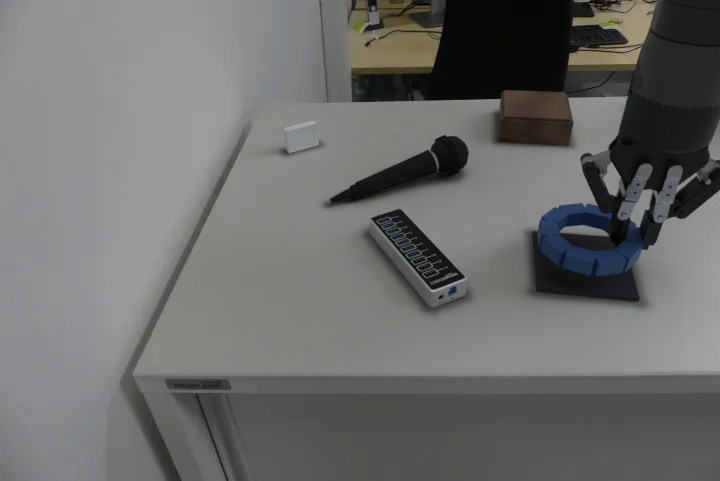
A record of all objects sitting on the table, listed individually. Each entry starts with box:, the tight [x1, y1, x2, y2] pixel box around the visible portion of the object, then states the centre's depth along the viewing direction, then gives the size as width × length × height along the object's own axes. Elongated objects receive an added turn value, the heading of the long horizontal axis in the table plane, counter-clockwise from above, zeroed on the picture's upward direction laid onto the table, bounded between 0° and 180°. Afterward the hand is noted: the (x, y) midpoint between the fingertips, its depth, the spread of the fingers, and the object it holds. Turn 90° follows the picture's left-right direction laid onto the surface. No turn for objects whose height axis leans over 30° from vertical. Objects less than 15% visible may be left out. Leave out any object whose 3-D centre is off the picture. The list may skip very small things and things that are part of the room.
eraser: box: [282, 120, 320, 154], centre depth 84 cm, size 1×5×4 cm, turn 117°
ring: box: [537, 202, 644, 276], centre depth 59 cm, size 10×10×2 cm
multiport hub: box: [368, 208, 468, 309], centre depth 62 cm, size 4×14×2 cm, turn 25°
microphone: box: [329, 134, 470, 204], centre depth 74 cm, size 6×6×20 cm
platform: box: [498, 89, 574, 146], centre depth 85 cm, size 10×10×4 cm
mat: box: [532, 230, 641, 302], centre depth 61 cm, size 10×10×1 cm
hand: (628, 243), depth 58 cm, fingers closed on ring, 2 cm apart
